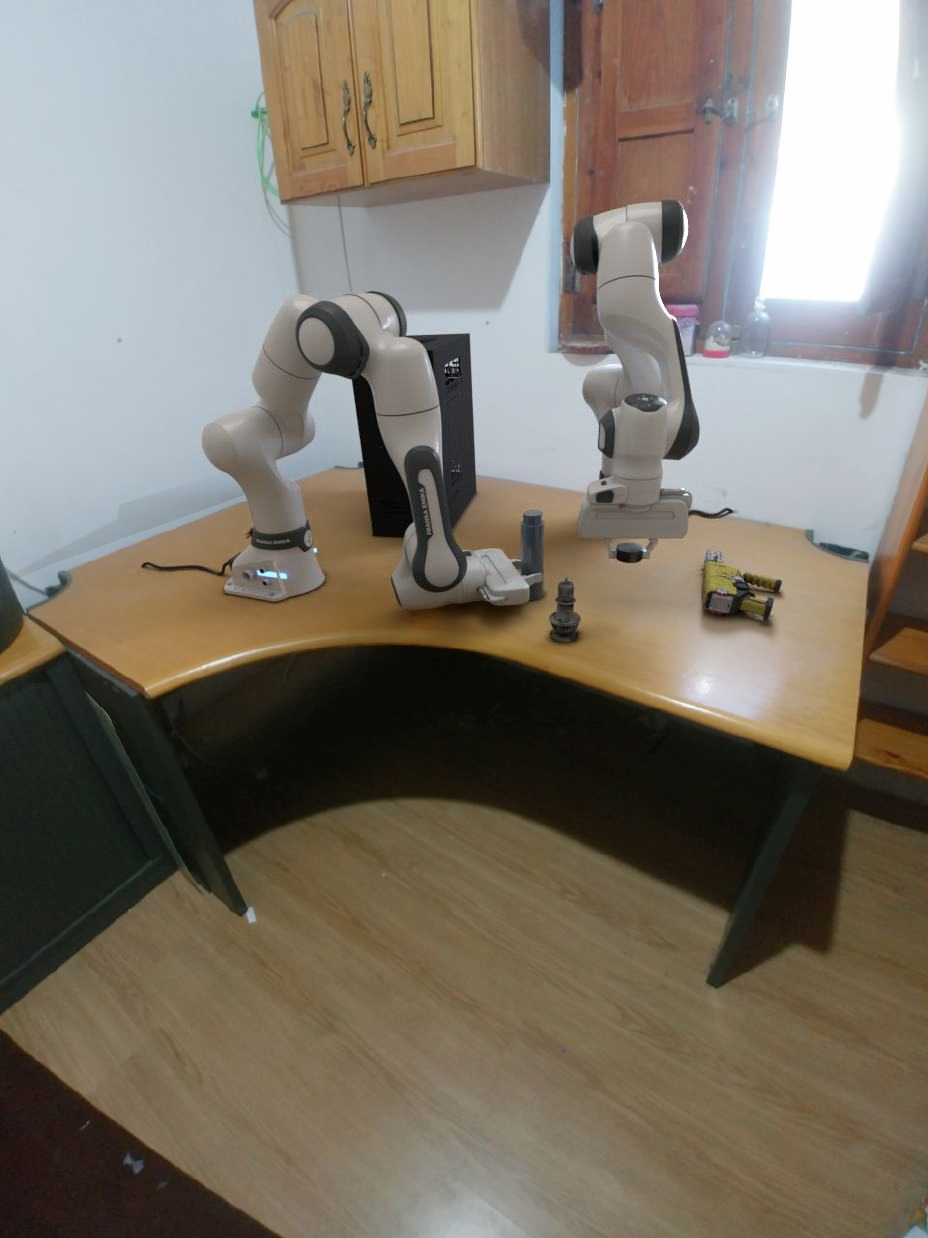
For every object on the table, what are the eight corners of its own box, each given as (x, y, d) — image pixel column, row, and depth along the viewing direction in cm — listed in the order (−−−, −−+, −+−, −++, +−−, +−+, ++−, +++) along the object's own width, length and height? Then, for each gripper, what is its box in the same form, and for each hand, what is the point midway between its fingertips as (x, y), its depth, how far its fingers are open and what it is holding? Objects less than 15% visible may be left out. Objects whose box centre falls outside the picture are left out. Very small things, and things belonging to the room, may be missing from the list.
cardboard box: (446, 538, 156) (432, 350, 134) (372, 535, 161) (348, 352, 138) (476, 491, 188) (469, 333, 165) (414, 490, 192) (399, 335, 170)
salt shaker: (579, 643, 110) (582, 585, 104) (547, 641, 111) (548, 583, 105) (580, 627, 115) (583, 570, 109) (549, 625, 116) (551, 569, 110)
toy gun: (779, 558, 129) (706, 546, 133) (794, 606, 109) (707, 591, 113) (773, 578, 131) (701, 566, 135) (786, 629, 111) (701, 613, 115)
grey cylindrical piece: (525, 601, 125) (525, 518, 116) (517, 591, 129) (517, 510, 120) (546, 597, 126) (548, 514, 117) (538, 587, 130) (539, 507, 121)
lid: (631, 550, 121) (632, 540, 119) (648, 560, 116) (649, 549, 115) (609, 555, 119) (610, 545, 118) (626, 565, 115) (627, 554, 114)
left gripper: (484, 588, 112) (554, 577, 115) (459, 547, 130) (520, 538, 132) (485, 617, 116) (553, 606, 118) (461, 573, 133) (521, 564, 135)
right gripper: (690, 483, 113) (679, 551, 119) (579, 484, 115) (575, 551, 121) (698, 493, 107) (686, 565, 114) (581, 494, 109) (577, 564, 116)
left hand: (536, 570), depth 125 cm, fingers closed on grey cylindrical piece, 5 cm apart
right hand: (628, 557), depth 118 cm, fingers closed on lid, 5 cm apart
